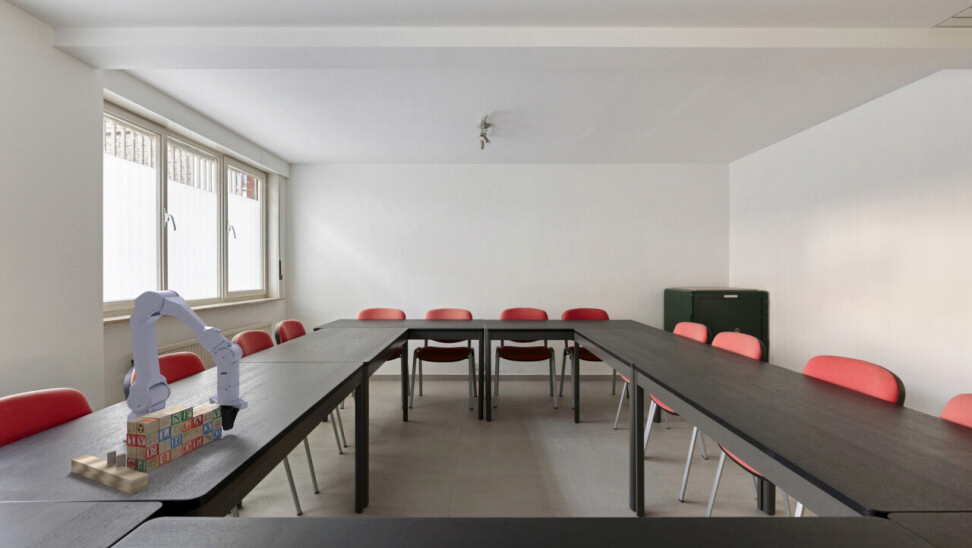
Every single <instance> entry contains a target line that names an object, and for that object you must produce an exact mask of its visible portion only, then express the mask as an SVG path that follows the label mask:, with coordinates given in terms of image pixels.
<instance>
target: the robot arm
mask: <svg viewBox="0 0 972 548" xmlns="http://www.w3.org/2000/svg"><path fill="white" fill-rule="evenodd" d="M133 301H134V307H133V309H132V312H131V313H130V316H129V327H130V336H131V337H130V338H131V347H132V355H133V365H134V374H135V378H134V381H133V382H132V383H131V384H130V386H129V388H128V389H129V394H128V396H127V399H126V405H127V408H129V410H131V411H129V414H128V415H127V418H126V422H127V421H129V420H132V419H135V418H138V417H142V416H145V415H148V414H151V413H154V412H156V411H159V410H162V409H165V408H166V404H167V400H168V399H169V398H170V397H171V393H172V389H171V387H170V386H169V384H168V382H167V378H166V377H165V376H164V375H163V374H161V369H160V361H159V360H160V359H159V353H158V351H159V350H158V343H157V334H156V333H157V332H156V324H155V323H156V321H158V320H159V319H160V318H161V317H162V316H164V315H165V316H172V317H175V318H177V319H178V320H179V321H180V322H181V323H182V324H184V325H185V326H186V327H188V328H189V329H190V330H191V331H192V332H193V333H195V334H196V338H195V339H196V342H198V343H199V344H200V345H201V346H202V347H203V348H204V349H205V350H206V351H207V352H208V353H209V354H210V355H211V356H213V357H212V362H213V363H214V364H215V366H216V395H213V396H210V397H209V401H208V403H209V405H213V404H215V405H216V406H221V409H220V411H221V413H222V416H221V417H222V430H223V431H225V432H227V431H230V430H233V428H234V425H235V421H236V418H237V416H238V414H239V412H240V410H245V409H248V406H249V405H248V403H249V402H248V401H247V400H245V399H243V395H240V361H241V359H242V358H243V355H244V353H243V349H242V347H241V345H239V344H238V343H233V342H232V340H228V338H227V337H225V336H224V335H223V334H222V329H220V328H216V327H215V326H208V325H207V324H206V323H205V322H204V321H203V320H202V319H201V317H200V316H198V314H196V312H195V311H194V310H193V309H192V308H191V307H190V306H189V305H188V304H187V301H186V299H185V298H184V297H183V296H180V294H179V293H178V292H177V291H176V290H173V289H165V290H147V291H144V292H143V293H141V294H140V295H139V296H137V297H136V298H135V299H134V300H133ZM122 441H124V442H126V441H127V440H126V437H124V438H123V439H122Z"/></svg>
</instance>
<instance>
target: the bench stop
mask: <svg viewBox="0 0 972 548" xmlns="http://www.w3.org/2000/svg"><path fill="white" fill-rule="evenodd" d="M70 465H71V471H70V472H72V473H74V474H77V475H79V476H82V477H85V478H88V479H89V478H90V480H92V481H95V482H97V481H98V483H100V484H103V485H106V486H108V487H111V488H113V489H116V490H118V491H121V490H122V491H121V492H124V493H127V494H130V495H134V493H135V494H137V493H138V491H139V492H142V491H144V490H145V489H149V474H148V473H146V472H141V471H136V470H133V469H130V468H127V453H120V454H117V450H110V451H108V452H107V453H106V459H102V458H101V457H100V458H99V457H97V456H93V455H91V454H89V453H88V454H84V455H81V456H79V457H74V458H72V459H71V463H70ZM143 489H144V490H143ZM141 490H142V491H141ZM136 492H137V493H136Z"/></svg>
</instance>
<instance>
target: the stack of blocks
mask: <svg viewBox="0 0 972 548" xmlns="http://www.w3.org/2000/svg"><path fill="white" fill-rule="evenodd" d="M220 409H221V406H220V405H208V404H204V405H201V406H198V407H195V408H194V407H193V406H191V405H190V406H189V405H179V404H174V405H172V406H168V407H165V409H162V410H159V411H156V412H154V413H151V414H148V415H145V416H142V417H138V418H135V419H132V420H129V421H127V420H126V437H125V438H126V440H127V441H125V443H126V467H127V468H130V469H133V470H136V471H139V472H142V473H147V472H150V471H152V470H154V469H156V468H158V467H161V466H163V465H164V464H167V463H168V462H169V463H170V462H171V461H173V460H175V459H179V458H180V457H182V456H183V455H185V454H188V453H190V452H191V451H194V450H196V449H198V448H200V446H201V447H202V446H205V445H207V444H209V443H211V442H214V441H215V440H218V439H220V438H223V437H222V435H223V433H222V432H223V431H222V430H223V428H222V417H221V416H222V413H221V411H220Z"/></svg>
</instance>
